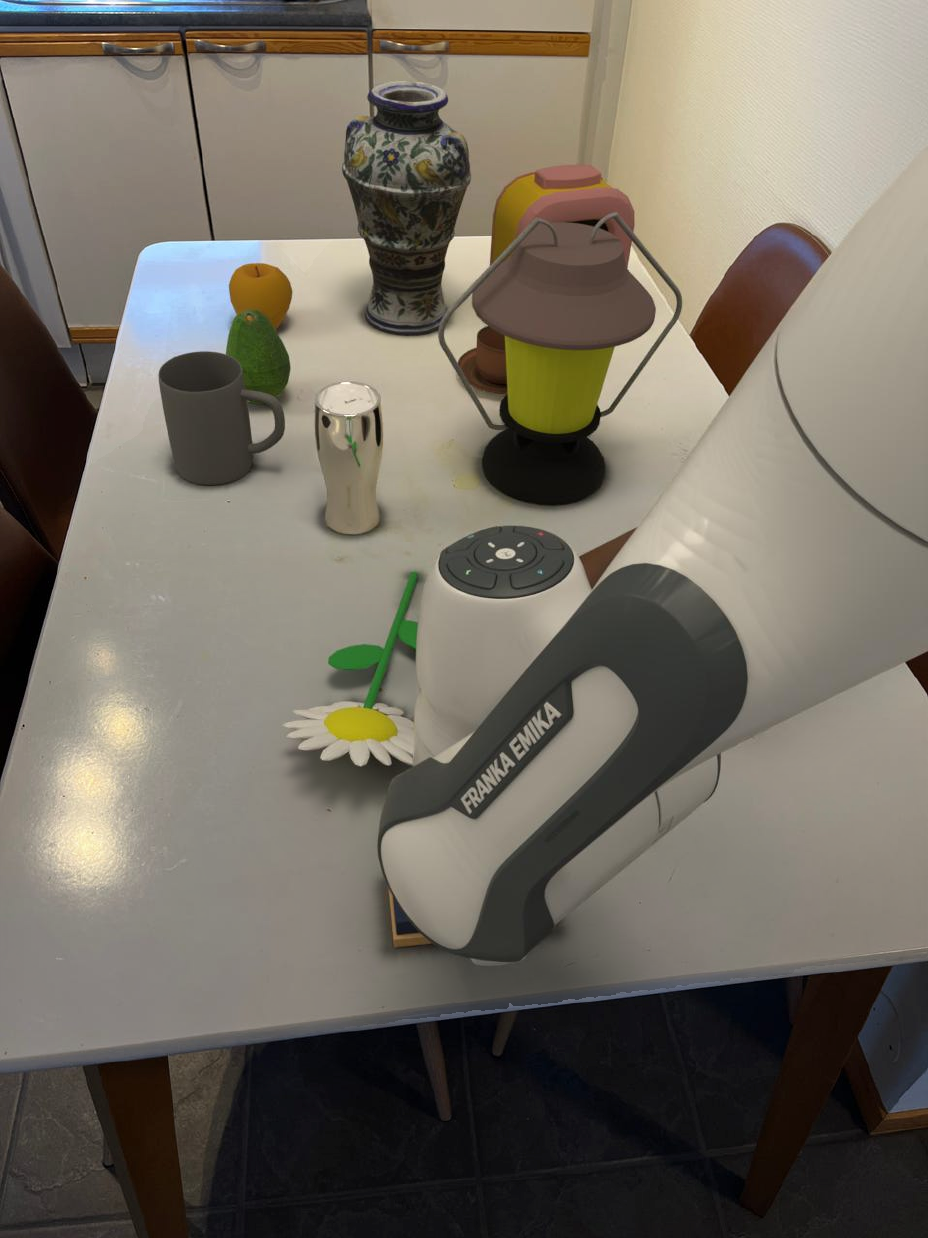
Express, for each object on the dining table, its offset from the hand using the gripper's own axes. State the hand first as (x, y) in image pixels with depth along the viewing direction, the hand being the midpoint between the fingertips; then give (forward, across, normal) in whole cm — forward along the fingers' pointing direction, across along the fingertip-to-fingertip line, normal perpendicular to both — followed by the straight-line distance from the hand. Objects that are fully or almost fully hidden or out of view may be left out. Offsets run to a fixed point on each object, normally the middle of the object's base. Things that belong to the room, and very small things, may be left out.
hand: (471, 868), depth 70 cm
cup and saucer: (+6, +77, -16) cm, 79 cm away
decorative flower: (+6, +24, +4) cm, 25 cm away
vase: (+6, +96, -5) cm, 96 cm away
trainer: (+5, 0, 0) cm, 5 cm away
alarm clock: (+6, +98, -27) cm, 102 cm away
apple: (+6, +93, +16) cm, 95 cm away
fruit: (+6, +73, +16) cm, 75 cm away
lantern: (+6, +56, -17) cm, 59 cm away
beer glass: (+6, +48, +6) cm, 49 cm away
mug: (+6, +59, +19) cm, 62 cm away
